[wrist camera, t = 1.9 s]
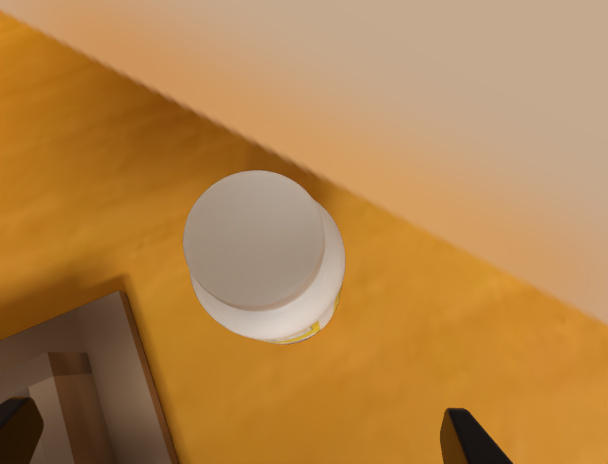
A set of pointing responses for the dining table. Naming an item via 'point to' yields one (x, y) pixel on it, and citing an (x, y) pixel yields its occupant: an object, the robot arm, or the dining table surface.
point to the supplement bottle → (264, 257)
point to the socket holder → (88, 387)
